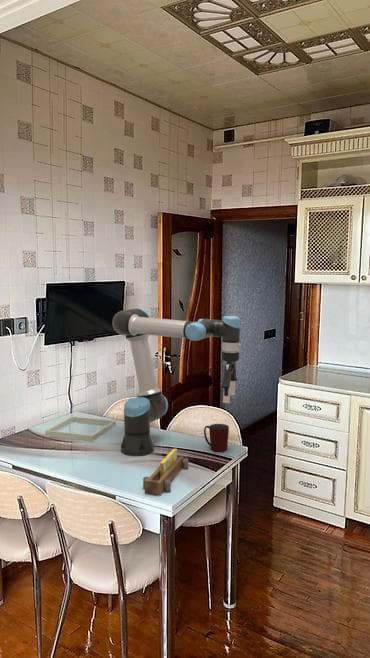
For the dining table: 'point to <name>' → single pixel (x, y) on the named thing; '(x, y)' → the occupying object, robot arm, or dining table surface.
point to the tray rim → (54, 433)
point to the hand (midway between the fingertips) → (229, 398)
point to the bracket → (163, 478)
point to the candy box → (168, 462)
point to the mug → (217, 437)
